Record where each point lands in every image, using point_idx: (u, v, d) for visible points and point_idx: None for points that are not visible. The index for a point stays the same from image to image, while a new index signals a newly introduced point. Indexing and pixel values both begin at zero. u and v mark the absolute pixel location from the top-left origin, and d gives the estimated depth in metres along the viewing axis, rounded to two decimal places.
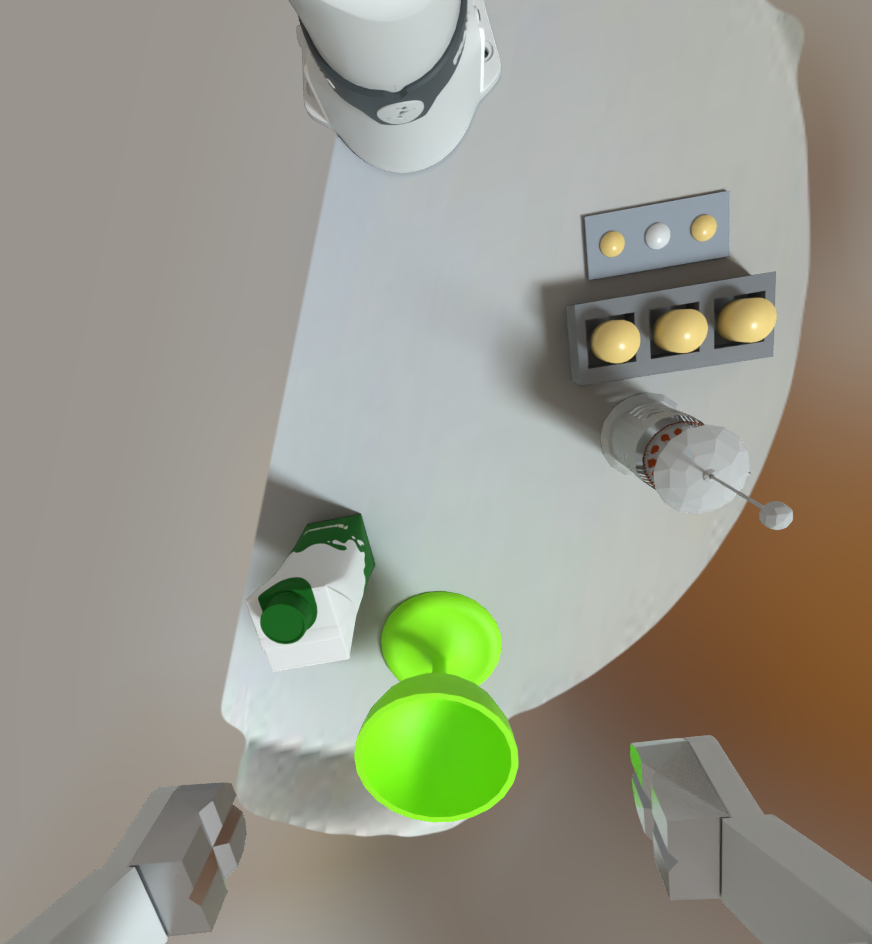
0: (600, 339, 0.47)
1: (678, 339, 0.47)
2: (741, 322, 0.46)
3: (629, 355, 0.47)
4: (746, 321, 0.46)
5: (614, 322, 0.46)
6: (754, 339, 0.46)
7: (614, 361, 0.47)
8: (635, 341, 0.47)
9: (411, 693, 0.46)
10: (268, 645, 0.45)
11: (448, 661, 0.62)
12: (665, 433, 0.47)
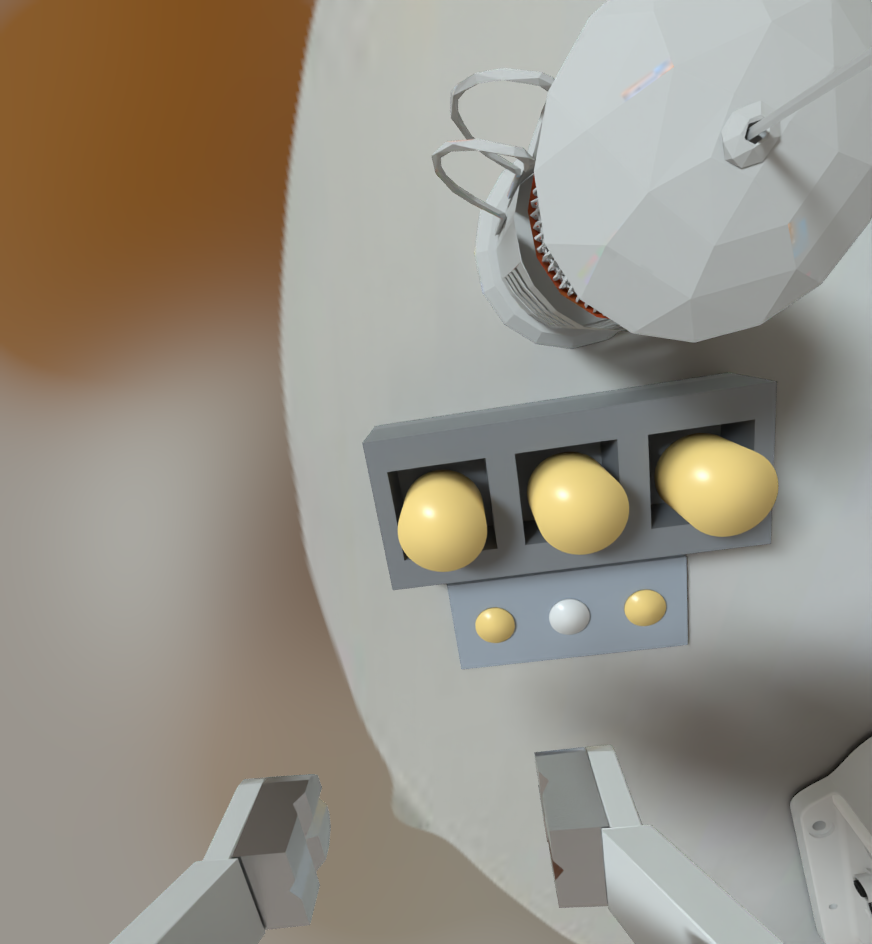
0: (770, 499, 0.21)
1: (598, 497, 0.21)
2: (467, 528, 0.22)
3: (706, 465, 0.21)
4: (457, 529, 0.22)
5: (736, 532, 0.22)
6: (434, 495, 0.22)
7: (743, 452, 0.20)
8: (692, 494, 0.21)
9: None
10: None
11: None
12: None
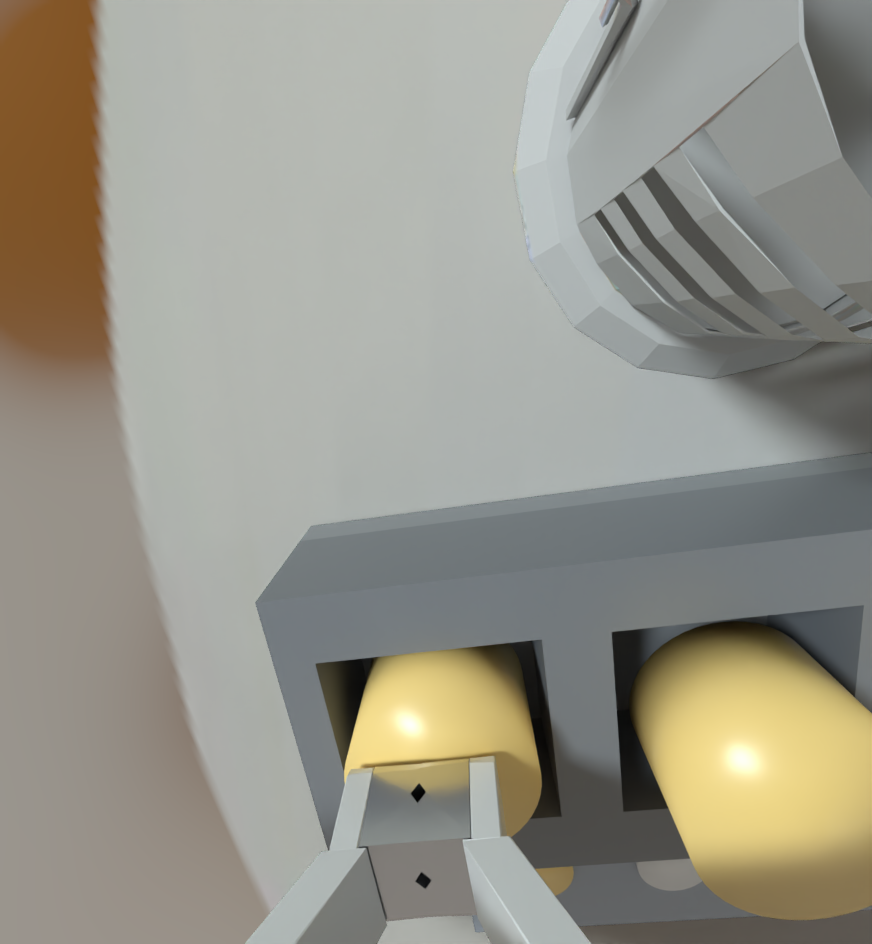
0: None
1: (865, 801, 0.08)
2: None
3: None
4: None
5: None
6: (424, 713, 0.10)
7: None
8: None
9: None
10: None
11: None
12: None
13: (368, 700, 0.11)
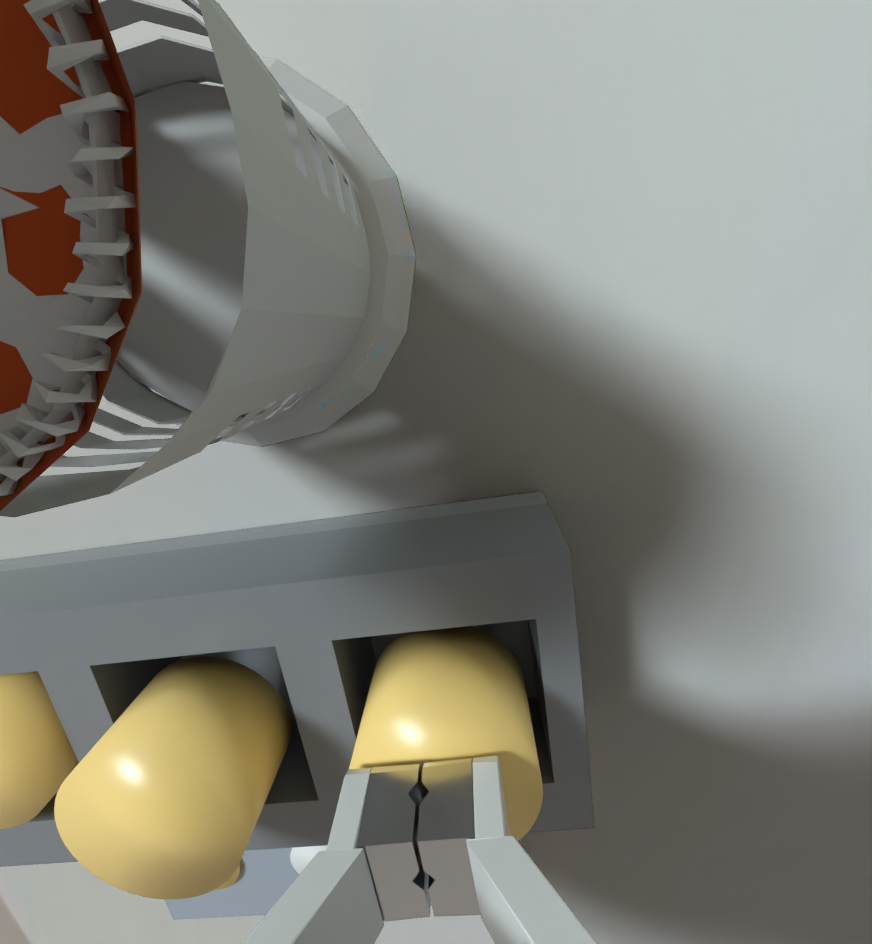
0: (531, 806, 0.10)
1: (172, 805, 0.10)
2: (12, 767, 0.13)
3: (386, 741, 0.10)
4: None
5: None
6: None
7: (457, 720, 0.10)
8: None
9: None
10: None
11: None
12: (2, 418, 0.05)
13: None
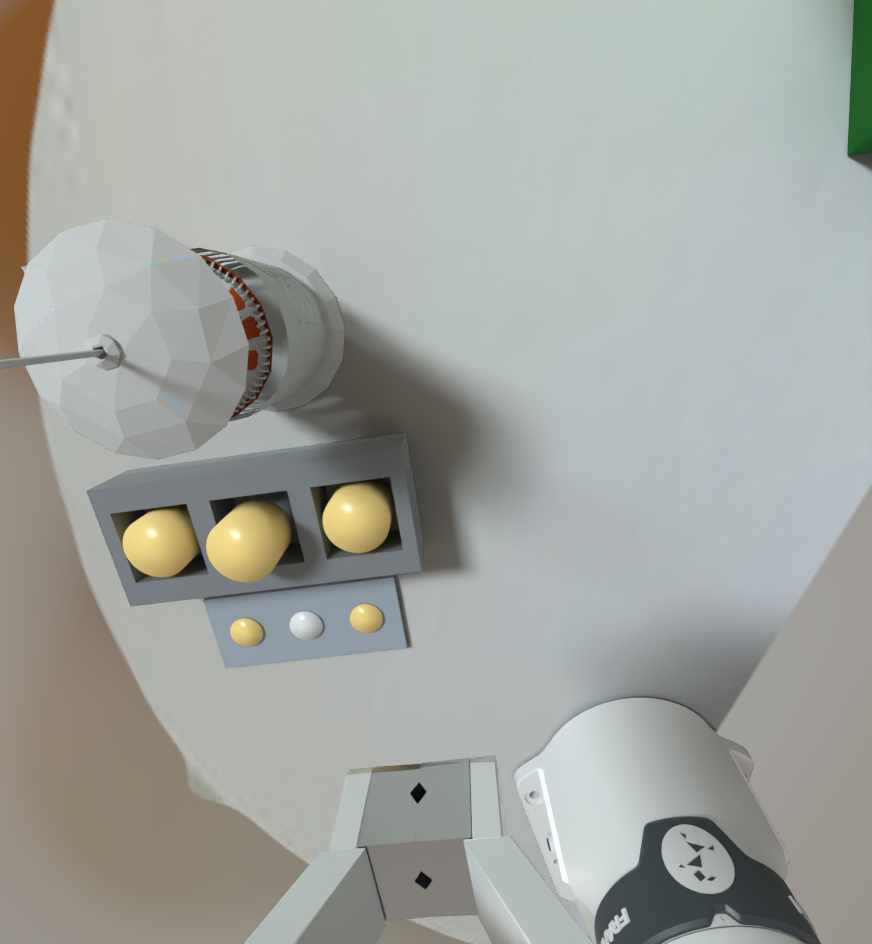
0: (386, 527, 0.29)
1: (251, 539, 0.27)
2: (173, 545, 0.30)
3: (335, 502, 0.29)
4: (166, 546, 0.30)
5: (367, 549, 0.30)
6: (145, 522, 0.29)
7: (359, 494, 0.29)
8: (330, 522, 0.29)
9: None
10: None
11: None
12: None
13: None
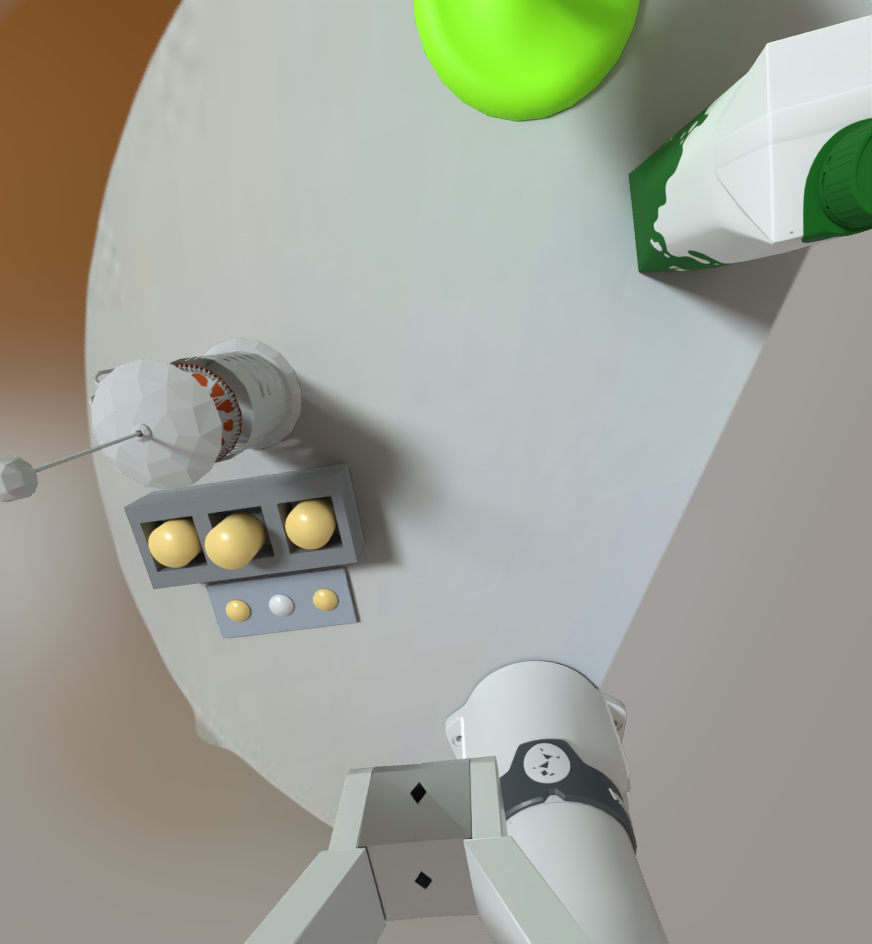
0: (329, 531, 0.42)
1: (235, 539, 0.40)
2: (183, 545, 0.43)
3: (294, 514, 0.42)
4: (178, 546, 0.43)
5: (317, 547, 0.42)
6: (164, 528, 0.42)
7: (309, 508, 0.41)
8: (290, 528, 0.42)
9: None
10: None
11: None
12: None
13: None
